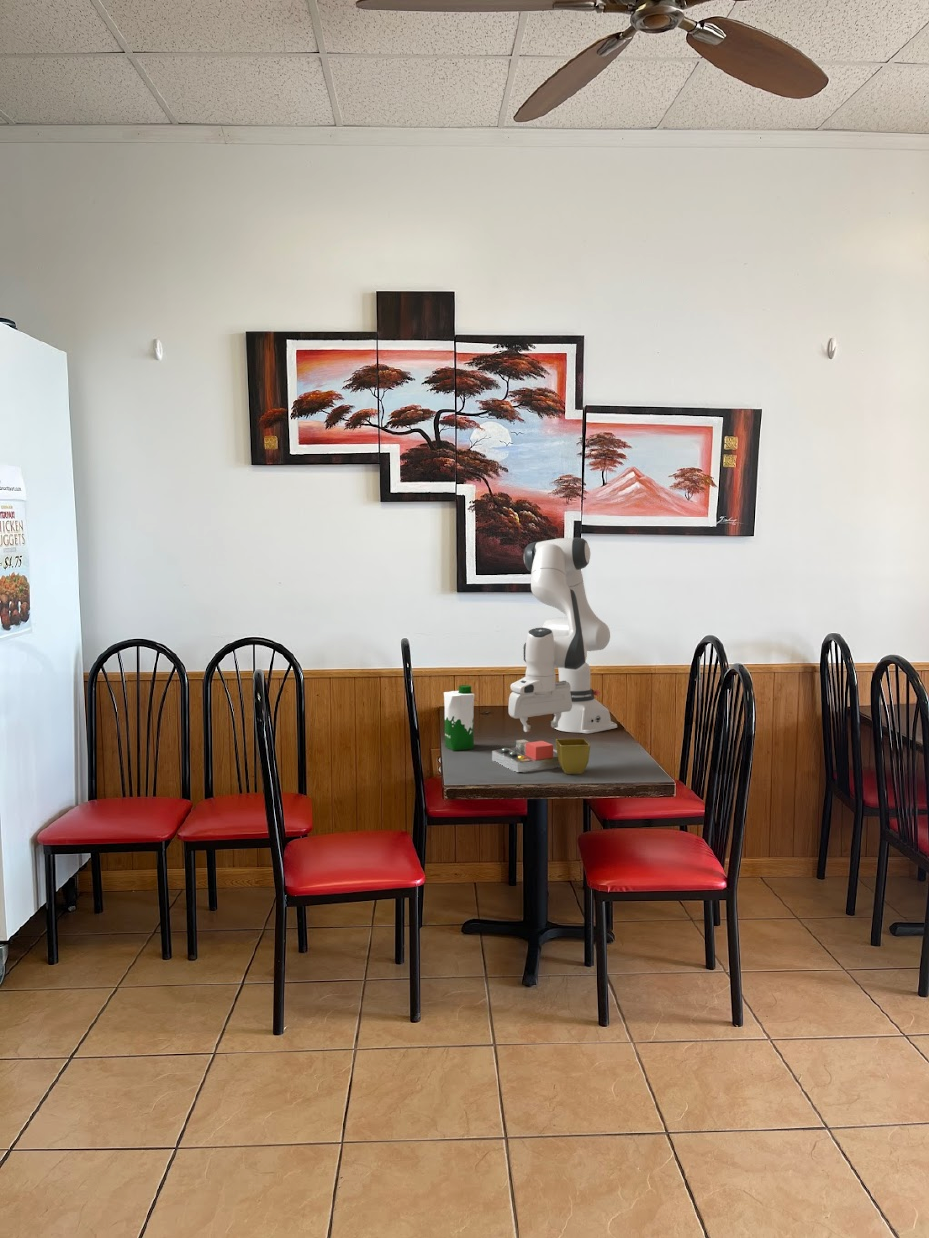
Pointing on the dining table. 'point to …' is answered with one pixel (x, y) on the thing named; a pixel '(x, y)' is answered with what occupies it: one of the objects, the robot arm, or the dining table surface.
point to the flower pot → (573, 755)
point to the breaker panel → (523, 759)
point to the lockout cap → (539, 750)
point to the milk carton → (459, 719)
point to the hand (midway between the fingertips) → (540, 729)
